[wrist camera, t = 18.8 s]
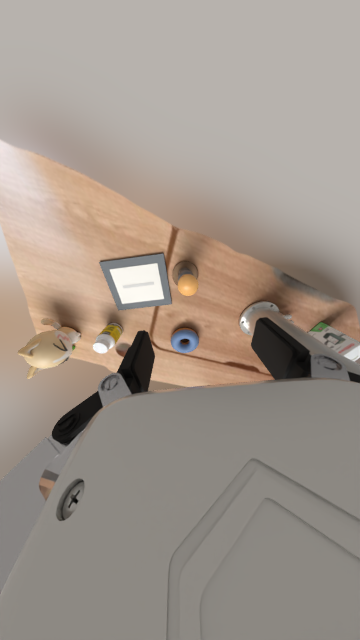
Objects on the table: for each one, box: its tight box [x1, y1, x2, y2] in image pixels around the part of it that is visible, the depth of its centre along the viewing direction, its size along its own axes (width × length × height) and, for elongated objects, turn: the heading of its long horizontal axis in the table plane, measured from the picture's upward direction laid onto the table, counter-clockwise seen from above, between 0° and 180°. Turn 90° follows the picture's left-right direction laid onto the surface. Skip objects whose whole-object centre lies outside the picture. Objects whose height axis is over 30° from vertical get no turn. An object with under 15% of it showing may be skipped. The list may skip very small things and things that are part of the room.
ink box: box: [308, 322, 360, 361], centre depth 42 cm, size 9×5×12 cm, turn 155°
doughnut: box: [171, 328, 199, 353], centre depth 45 cm, size 10×10×5 cm
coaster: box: [173, 261, 198, 286], centre depth 35 cm, size 7×7×1 cm
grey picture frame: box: [99, 254, 172, 310], centre depth 37 cm, size 17×14×1 cm
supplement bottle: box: [93, 323, 123, 353], centre depth 40 cm, size 5×5×10 cm
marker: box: [178, 268, 198, 296], centre depth 30 cm, size 4×4×11 cm
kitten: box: [18, 319, 81, 379], centre depth 39 cm, size 15×10×15 cm, turn 160°
